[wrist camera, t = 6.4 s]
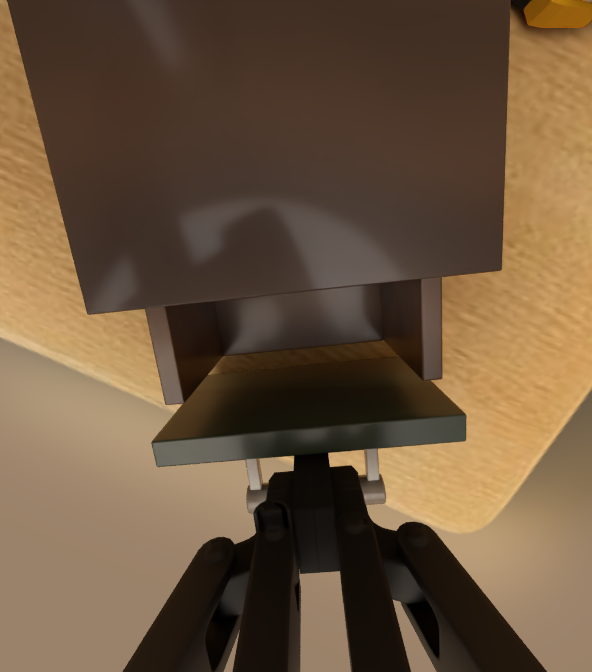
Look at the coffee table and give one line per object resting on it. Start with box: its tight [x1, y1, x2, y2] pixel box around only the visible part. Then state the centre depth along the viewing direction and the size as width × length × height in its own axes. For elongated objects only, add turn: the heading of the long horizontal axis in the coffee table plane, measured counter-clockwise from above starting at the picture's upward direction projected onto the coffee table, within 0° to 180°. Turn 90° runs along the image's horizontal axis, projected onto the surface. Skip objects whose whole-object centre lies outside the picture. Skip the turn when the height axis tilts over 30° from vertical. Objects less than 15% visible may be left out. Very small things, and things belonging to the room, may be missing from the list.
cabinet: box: [7, 0, 511, 315], centre depth 14 cm, size 16×14×10 cm
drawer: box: [145, 277, 466, 514], centre depth 16 cm, size 20×13×8 cm, turn 6°
